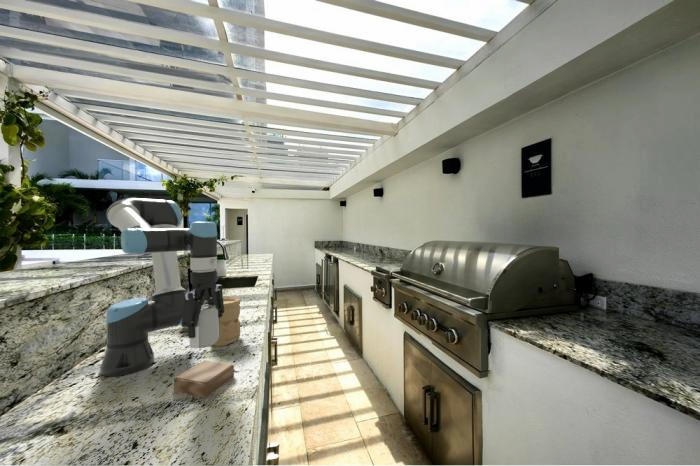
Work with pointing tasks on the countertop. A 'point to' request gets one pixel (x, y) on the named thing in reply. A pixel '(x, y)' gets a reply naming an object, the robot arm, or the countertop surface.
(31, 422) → the countertop surface
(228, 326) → the container
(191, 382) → the tan cardboard box
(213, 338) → the can
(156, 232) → the robot arm
